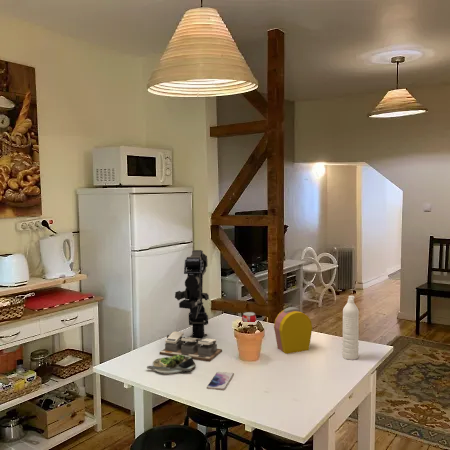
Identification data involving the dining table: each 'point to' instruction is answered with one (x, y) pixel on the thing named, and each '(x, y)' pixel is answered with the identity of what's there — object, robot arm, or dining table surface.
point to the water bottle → (350, 330)
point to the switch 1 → (174, 337)
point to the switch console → (192, 350)
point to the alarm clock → (292, 330)
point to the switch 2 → (206, 341)
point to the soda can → (249, 317)
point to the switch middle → (189, 339)
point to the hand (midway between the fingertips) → (194, 319)
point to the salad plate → (173, 364)
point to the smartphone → (220, 381)
